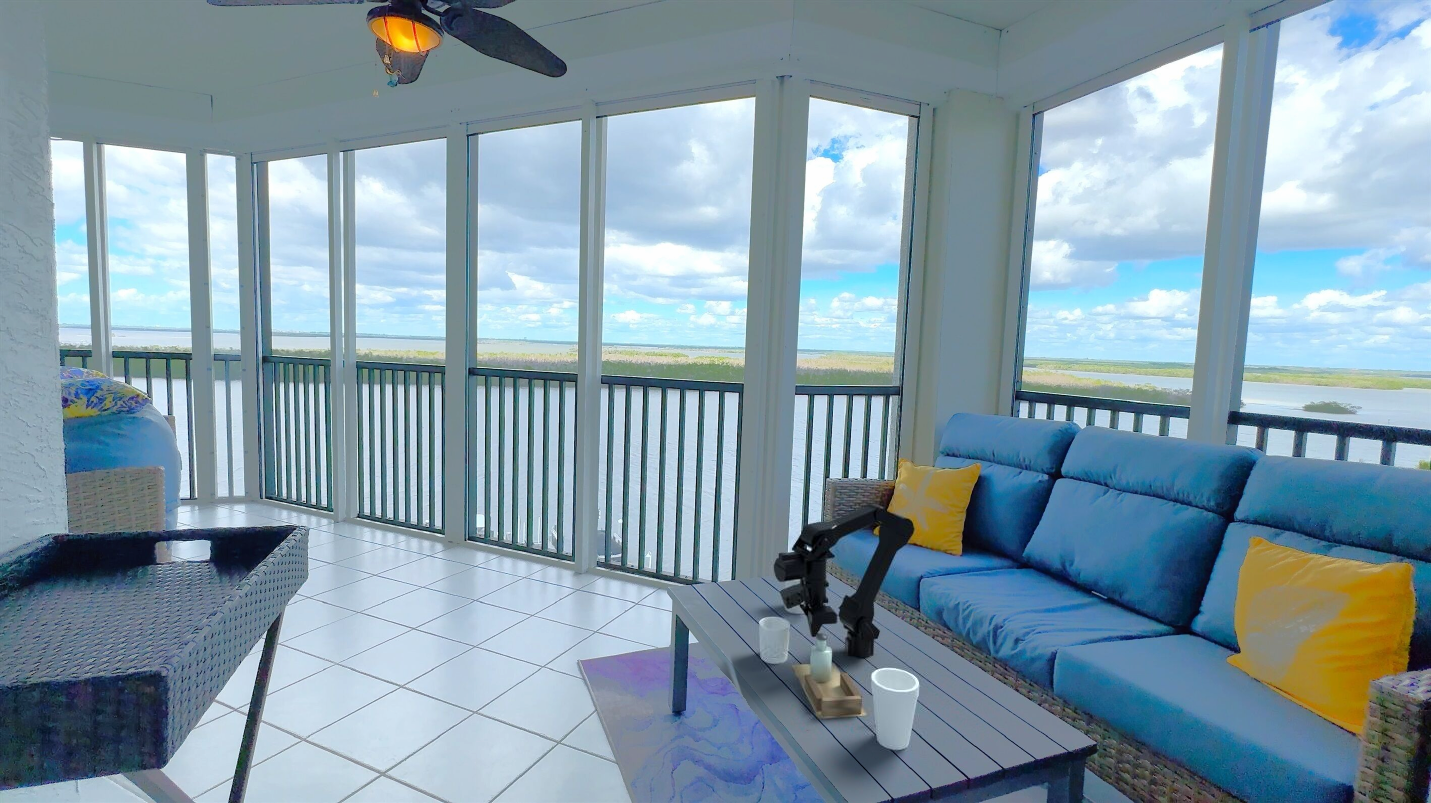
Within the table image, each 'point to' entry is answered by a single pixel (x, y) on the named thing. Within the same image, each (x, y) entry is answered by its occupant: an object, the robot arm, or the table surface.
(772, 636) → the white cup
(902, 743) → the foam cup
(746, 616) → the table surface
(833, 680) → the cradle board
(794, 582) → the mug
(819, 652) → the bottle
